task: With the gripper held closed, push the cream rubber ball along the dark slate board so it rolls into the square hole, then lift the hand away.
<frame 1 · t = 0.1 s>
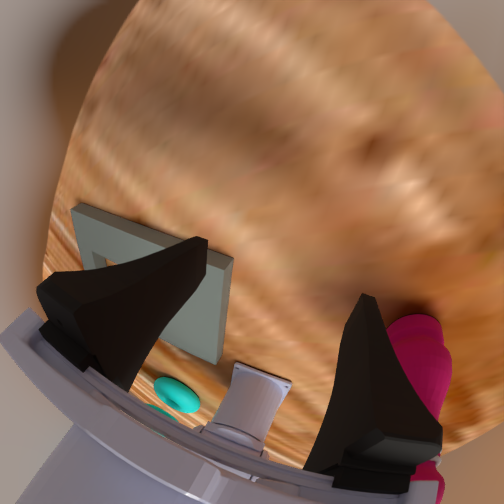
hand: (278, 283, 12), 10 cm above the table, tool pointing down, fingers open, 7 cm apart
donuts: (180, 389, 48), on the table
pepper mill: (412, 334, 23), on the table
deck: (147, 280, 33), on the table
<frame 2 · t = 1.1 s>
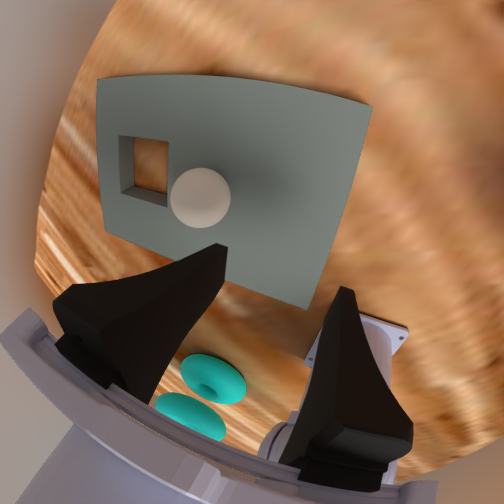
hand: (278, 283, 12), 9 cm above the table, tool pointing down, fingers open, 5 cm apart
ball: (200, 197, 18), point 4 cm above the table, touching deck
donuts: (217, 371, 37), on the table
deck: (204, 174, 21), on the table
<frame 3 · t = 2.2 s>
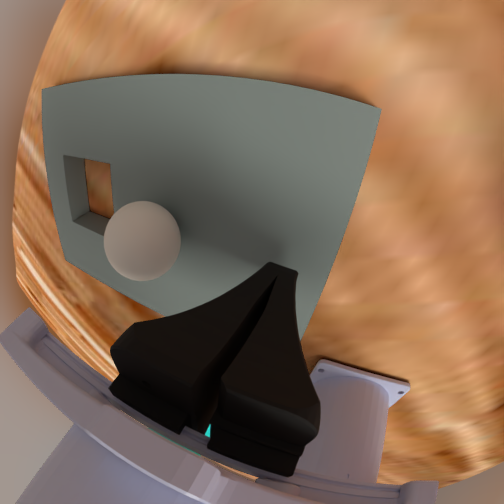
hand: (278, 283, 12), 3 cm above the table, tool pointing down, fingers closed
ball: (142, 240, 13), point 4 cm above the table, touching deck
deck: (158, 201, 17), on the table
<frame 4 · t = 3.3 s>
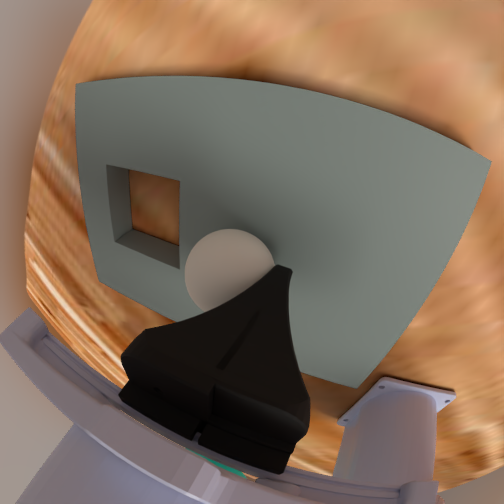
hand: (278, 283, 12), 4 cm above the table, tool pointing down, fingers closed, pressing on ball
ball: (230, 274, 12), point 4 cm above the table, tilted 7°, touching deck, gripper
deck: (231, 225, 16), on the table
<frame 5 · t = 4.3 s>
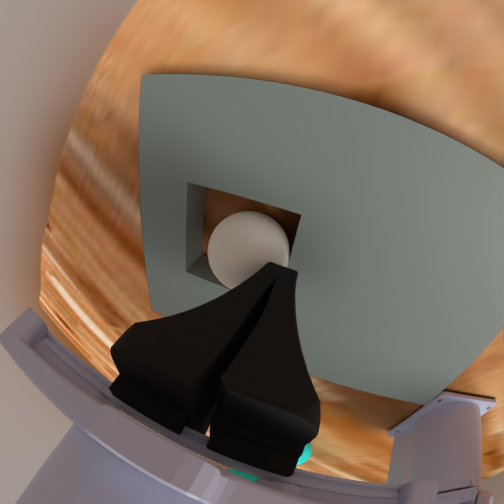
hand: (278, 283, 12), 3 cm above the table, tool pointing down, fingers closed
ball: (248, 252, 14), point 2 cm above the table, tilted 172°, touching gripper
donuts: (277, 435, 30), on the table
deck: (335, 259, 14), on the table
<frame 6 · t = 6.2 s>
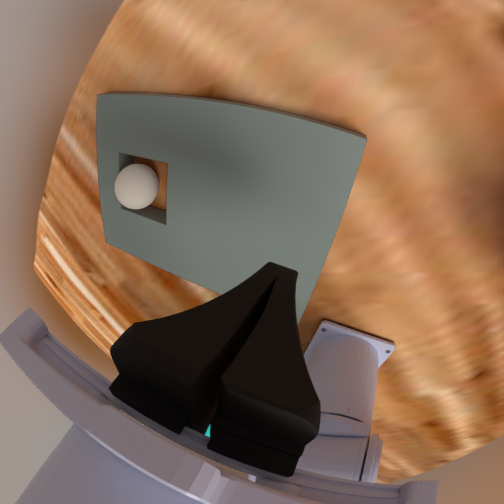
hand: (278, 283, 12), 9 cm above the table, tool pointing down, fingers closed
ball: (136, 186, 22), point 2 cm above the table, tilted 148°
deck: (202, 194, 22), on the table
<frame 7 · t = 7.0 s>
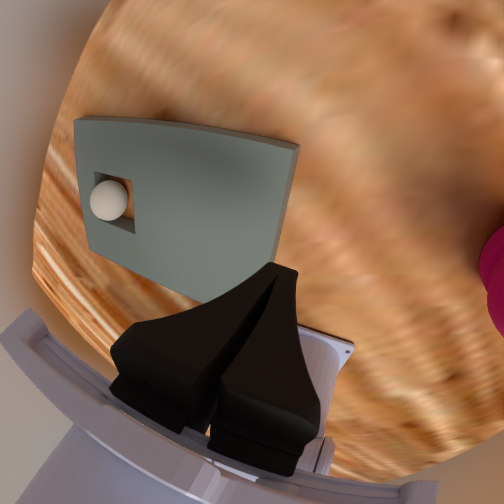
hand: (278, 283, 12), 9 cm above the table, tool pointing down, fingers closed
ball: (108, 200, 24), point 2 cm above the table, tilted 144°
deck: (164, 206, 25), on the table
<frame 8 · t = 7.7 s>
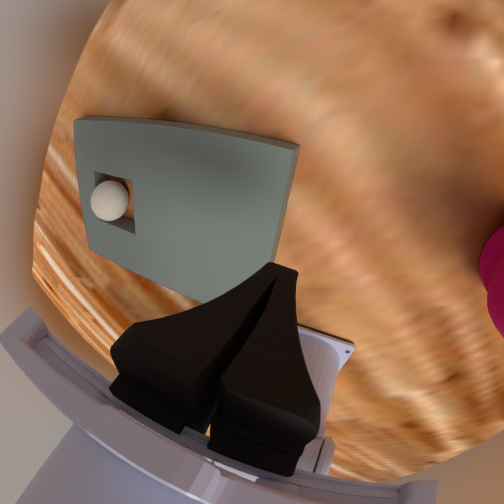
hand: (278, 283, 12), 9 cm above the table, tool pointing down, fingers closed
ball: (109, 200, 24), point 2 cm above the table, tilted 148°
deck: (164, 206, 25), on the table
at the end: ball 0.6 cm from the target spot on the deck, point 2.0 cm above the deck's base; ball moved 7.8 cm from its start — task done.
